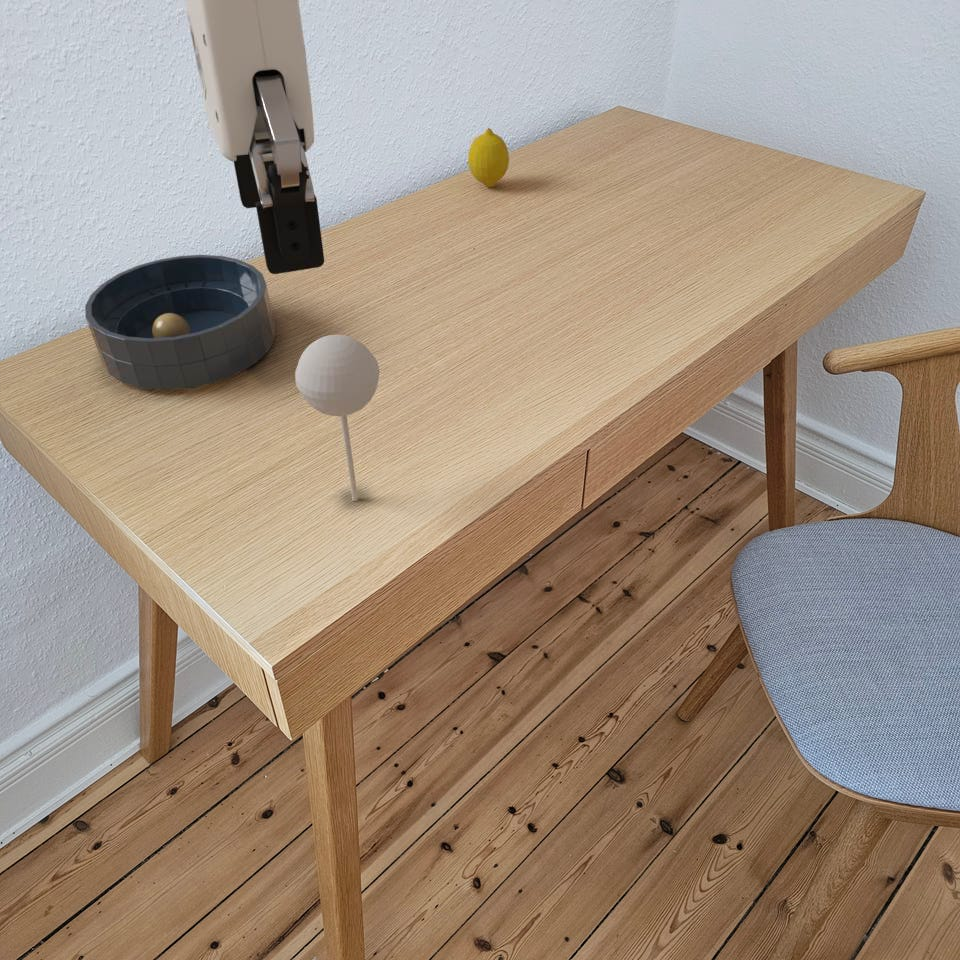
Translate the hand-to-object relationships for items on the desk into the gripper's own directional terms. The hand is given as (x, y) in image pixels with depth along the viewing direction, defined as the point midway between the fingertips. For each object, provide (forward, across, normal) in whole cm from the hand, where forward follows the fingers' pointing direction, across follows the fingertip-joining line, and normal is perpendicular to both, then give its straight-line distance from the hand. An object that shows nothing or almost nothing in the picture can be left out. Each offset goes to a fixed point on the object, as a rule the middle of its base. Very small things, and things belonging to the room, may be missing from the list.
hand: (280, 234), depth 52 cm
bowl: (+24, -31, -7) cm, 40 cm away
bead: (+22, -31, -9) cm, 39 cm away
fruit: (+23, -58, +36) cm, 72 cm away
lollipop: (+24, -2, +3) cm, 25 cm away
